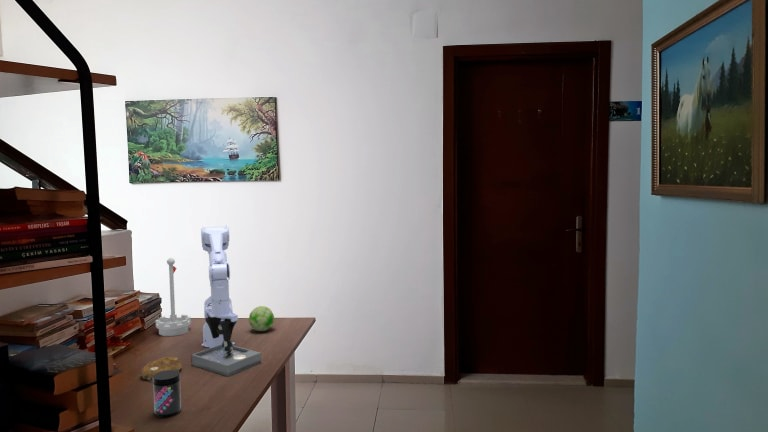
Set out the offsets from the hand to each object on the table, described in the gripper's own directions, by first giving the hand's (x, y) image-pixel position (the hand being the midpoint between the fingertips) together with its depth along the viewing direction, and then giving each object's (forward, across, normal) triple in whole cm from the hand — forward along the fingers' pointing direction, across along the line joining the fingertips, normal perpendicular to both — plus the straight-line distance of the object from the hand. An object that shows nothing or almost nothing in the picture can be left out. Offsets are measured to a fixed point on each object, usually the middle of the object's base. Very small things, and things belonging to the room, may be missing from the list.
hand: (221, 339), depth 176 cm
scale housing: (+8, +2, 0) cm, 8 cm away
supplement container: (+8, +17, -32) cm, 37 cm away
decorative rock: (+9, -9, -16) cm, 21 cm away
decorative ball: (+8, -15, +32) cm, 36 cm away
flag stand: (+8, -44, +12) cm, 46 cm away
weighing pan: (+6, 0, 0) cm, 6 cm away
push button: (+6, +1, +2) cm, 6 cm away
